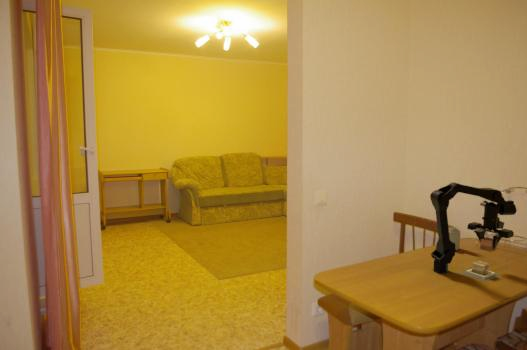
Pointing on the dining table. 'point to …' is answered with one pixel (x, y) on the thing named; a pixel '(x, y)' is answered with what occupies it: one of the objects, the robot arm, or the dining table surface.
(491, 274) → the board
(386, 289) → the dining table surface
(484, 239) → the top block
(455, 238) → the can
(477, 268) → the base block
